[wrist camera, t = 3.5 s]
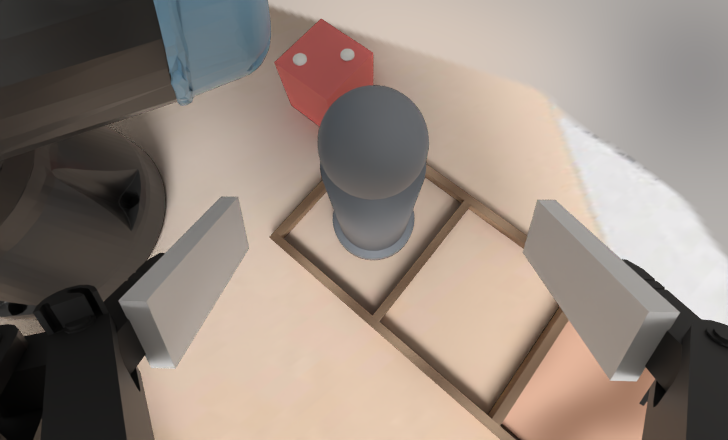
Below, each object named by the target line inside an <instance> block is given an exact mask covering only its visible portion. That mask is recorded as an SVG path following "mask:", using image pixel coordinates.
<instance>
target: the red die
mask: <svg viewBox="0 0 728 440" xmlns="http://www.w3.org/2000/svg"><path fill="white" fill-rule="evenodd" d="M274 63H275V65H276V68H277V70H278V73H279V75H280V78H281V81H282V83H283V86H284V88H285V91H286V93H287V96H288V98H289V101H290V103H291V105H292V106H293V107H294V108H296V109H297V110H298V111H300V112H301V113H302V114H304V115H305V116H306V117H308V118H309V119H310V120H312V121H313V122H314V123H316V124H317V125H318V126H320V125H321V122H322V119H323V117H324V115H325V113H326V112H327V110H328V109H329V107H330V106H331V105H332V104H333V103H334V102H335V101H336V100H337V99H338V98H339V97H340V96H342V95H343V94H345V93H347V92H348V91H350V90H353V89H355V88H358V87H362V86H368V85H373V52H371V51H370V50H368V49H367V48H365V47H364V46H362V45H360V44H359V43H357V42H356V41H354V40H353V39H351V38H350V37H348V36H347V35H345V34H344V33H342V32H341V31H339V30H338V29H336V28H335V27H333V26H332V25H330V24H329V23H327V22H326V21H324V20H323V19H320V20H319V21H318V22H317V23H316V24H315V25H314V26H313V27H312V28H310V29H309V30H308V31H307V32H306V33H305V34H304V35H303V36H302V37H301V38H300V39H299V40H298V41H297V42H296V43H294V44H293V45H292V46H291V47H290V48H289V49H288V50H287V51H286V52H285V53H284V54H283V55H282V56H281V57H280V58H278V59H277V60H276V61H275V62H274Z"/></svg>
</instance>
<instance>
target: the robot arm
mask: <svg viewBox="0 0 728 440" xmlns="http://www.w3.org/2000/svg"><path fill="white" fill-rule="evenodd" d="M270 38H271V23H270V13H269V6H268V0H0V318H3V319H14V320H16V319H37V320H38V321H39V323H40V324H41V326H42V327H43V329H44V330H45V332H43V333H38V334H34V335H29V336H23V335H22V333H21V332H20V331H19V329H18V328H17V327H16V326H15V325H9V324H6V325H0V440H154V435H153V430H152V426H151V421H150V416H149V411H148V406H147V402H146V397H145V392H144V387H143V383H142V378H141V373H140V371H139V369H138V367H137V365H138V364H139V362H140V361H141V360H142V358H143V357H144V356H146V358H147V360H148V362H149V364H150V366H151V368H176V367H177V365H178V363H179V362H180V360H181V359H182V357H183V355H184V354H185V352H186V350H187V349H188V347H189V346H190V344H191V342H192V341H193V339H194V337H195V336H196V334H197V332H198V331H199V329H200V328H201V326H202V324H203V323H204V321H205V319H206V318H207V316H208V315H209V313H210V311H211V310H212V308H213V306H214V305H215V303H216V301H217V300H218V298H219V297H220V295H221V293H222V292H223V290H224V288H225V287H226V285H227V284H228V282H229V280H230V279H231V277H232V275H233V274H234V272H235V270H236V269H237V267H238V266H239V264H240V262H241V261H242V259H243V257H244V256H245V254H246V253H247V251H248V249H249V245H248V241H247V236H246V231H245V227H244V222H243V217H242V212H241V208H240V203H239V198H238V197H220V198H219V199H218V200H217V202H216V203H215V204H214V205H213V206H212V207H211V208H210V209H209V210H208V211H207V212H206V213H205V214H204V215H203V216H202V217H201V218H200V219H199V220H198V221H197V222H196V223H195V224H194V225H193V226H192V227H191V228H190V229H189V230H188V231H187V232H186V233H185V234H184V235H183V236H182V237H181V238H180V239H179V240H178V241H177V242H176V243H175V244H174V245H173V246H172V247H171V248H170V249H169V250H168V251H167V252H166V253H159V254H157V255H156V256H154V257H152V258H150V259H149V260H147V258H148V257H149V255H150V253H151V252H152V250H153V248H154V246H155V244H156V242H157V239H158V237H159V234H160V231H161V228H162V224H163V220H164V214H165V191H164V186H163V182H162V178H161V176H160V173H159V171H158V169H157V167H156V165H155V164H154V162H153V161H152V159H151V158H150V157H149V156H148V155H147V154H146V153H145V152H144V151H143V150H142V149H141V148H140V147H138V146H137V145H135V144H134V143H133V142H131V141H130V140H128V139H127V138H125V137H124V136H123V135H121V134H120V133H118V132H116V131H115V130H113V129H111V128H109V127H107V126H105V125H108V124H111V123H114V122H117V121H120V120H123V119H126V118H129V117H132V116H135V115H138V114H141V113H144V112H147V111H150V110H153V109H156V108H159V107H162V106H165V105H168V104H171V103H174V102H178V103H179V104H180V105H181V106H185V105H188V104H189V103H191V102H192V101H193V97H194V96H196V95H199V94H201V93H204V92H206V91H209V90H211V89H214V88H216V87H219V86H222V85H224V84H227V83H229V82H232V81H234V80H237V79H240V78H242V77H245V76H247V75H249V74H251V73H252V72H253V71H255V70H256V69H257V68H258V67H259V66H260V65H261V64H262V62H263V61H264V59H265V57H266V54H267V52H268V50H269V45H270ZM523 254H524V255H525V257H526V258H527V259H528V261H529V262H530V264H531V265H532V267H533V268H534V270H535V271H536V273H537V274H538V276H539V277H540V279H541V280H542V281H543V283H544V284H545V286H546V287H547V289H548V290H549V292H550V293H551V295H552V296H553V298H554V299H555V301H556V302H557V303H558V305H559V306H560V308H561V309H562V311H563V312H564V314H565V315H566V317H567V318H568V320H569V321H570V322H571V324H572V325H573V327H574V328H575V330H576V331H577V333H578V334H579V336H580V337H581V339H582V340H583V342H584V343H585V344H586V346H587V347H588V349H589V350H590V352H591V353H592V355H593V356H594V358H595V359H596V361H597V362H598V364H599V365H600V366H601V368H602V369H603V371H604V372H605V374H606V375H607V377H608V378H609V380H610V381H637V380H638V379H639V377H640V376H641V374H642V372H643V371H644V369H645V368H647V369H648V371H649V372H650V373H651V374H652V375H653V377H654V378H655V380H654V382H653V383H652V385H651V386H650V388H649V389H648V391H647V392H646V394H645V395H644V397H643V398H642V400H641V401H640V403H639V404H641V405H643V406H644V405H645V404H646V402H647V409H646V415H645V422H644V428H643V435H642V440H728V326H727V325H725V324H722V323H719V322H715V321H712V320H701V319H700V318H699V317H698V316H697V315H696V314H694V313H693V312H692V311H691V310H690V309H689V308H687V307H686V306H685V305H684V304H683V303H682V302H680V301H679V300H678V299H677V298H676V297H675V296H674V295H672V294H671V293H670V292H669V291H668V290H665V289H664V287H663V286H662V285H661V284H660V283H659V282H657V281H655V279H654V278H653V277H652V276H650V275H649V274H648V273H647V272H646V271H645V270H643V269H642V268H640V267H639V266H637V265H635V264H633V263H631V262H630V261H628V260H621V259H620V258H619V257H618V256H617V255H616V254H615V253H614V252H613V251H611V250H610V249H609V248H608V247H607V246H606V245H605V244H604V243H603V242H601V241H600V240H599V239H598V238H597V237H596V236H595V235H594V234H593V233H591V232H590V231H589V230H588V229H587V228H586V227H585V226H584V225H583V224H581V223H580V222H579V221H578V220H577V219H576V218H575V217H574V216H573V215H572V214H570V213H569V212H568V211H567V210H566V209H565V208H564V207H563V206H562V205H560V204H559V203H558V202H557V201H556V200H537V203H536V206H535V210H534V214H533V217H532V221H531V224H530V228H529V232H528V235H527V239H526V242H525V246H524V250H523ZM146 260H147V261H146ZM103 301H104V302H103Z"/></svg>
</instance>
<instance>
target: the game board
mask: <svg viewBox="0 0 728 440" xmlns="http://www.w3.org/2000/svg"><path fill="white" fill-rule="evenodd" d="M425 177H426V178H427V179H428V180H430V181H431V182H433V183H434V184H435V185H437V186H438V187H439V188H441V189H442V190H444V191H445V192H446V193H448V194H449V195H450V196H452V197H453V198H455V199H456V200H457V201H459V202H460V203H462V204H461V205H460V206H459V208H458V209H457V210H456V211H455V213H454V214H453V215H452V216H451V218H450V219H449V220H448V222H447V223H446V224H445V225H444V227H443V228H442V229H441V230H440V232H439V233H438V234H437V235H436V237H435V238H434V239H433V240H432V242H431V243H430V244H429V245H428V247H427V248H426V249H425V250H424V252H423V253H422V254H421V255H420V257H419V258H418V259H417V260H416V262H415V263H414V264H413V266H412V267H411V268H410V269H409V271H408V272H407V273H406V274H405V276H404V277H403V278H402V279H401V281H400V282H399V283H398V284H397V286H396V287H395V288H394V289H393V291H392V292H391V293H390V294H389V296H388V297H387V298H386V299H385V301H384V302H383V303H382V304H381V306H380V307H379V308H378V310H377V311H376V312H375V313H374V315H373V316H372V315H371V314H370V313H369V312H368V311H367V310H366V309H364V308H363V307H362V306H361V305H360V304H359V303H357V302H356V301H355V300H354V299H353V298H352V297H351V296H349V295H348V294H347V293H346V292H345V291H344V290H342V289H341V288H340V287H339V286H338V285H337V284H336V283H334V282H333V281H332V280H331V279H330V278H329V277H327V276H326V275H325V274H324V273H323V272H322V271H321V270H319V269H318V268H317V267H316V266H315V265H314V264H312V263H311V262H310V261H309V260H308V259H307V258H306V257H304V256H303V255H302V254H301V253H300V252H299V251H297V250H296V249H295V248H294V247H293V246H292V245H290V244H289V243H288V242H287V241H286V240H285V239H284V238H285V236H286V235H287V234H288V233H289V232H290V231H291V230H292V229H293V228H294V227H295V225H296V224H297V223H298V222H299V221H300V220H301V219H302V218H303V217H304V216H305V215H306V213H307V212H308V211H309V210H310V209H311V208H312V207H313V206H314V205H315V204H316V202H317V201H318V200H319V199H320V198H321V197H322V196H323V195H324V194H325V193H326V192H327V191H326V188H325V185H324V183H323V180H322V181H321V182H320V183H319V184H318V185H317V186H316V187H315V188H314V189H313V190H312V192H311V193H310V194H309V195H308V196H307V197H306V198H305V199H304V200H303V201H302V202H301V203H300V205H299V206H298V207H297V208H296V209H295V210H294V211H293V212H292V213H291V214H290V215H289V216H288V217H287V219H286V220H285V221H284V222H283V223H282V224H281V225H280V226H279V227H278V228H277V229H276V230H275V232H274V233H273V234H272V235H271V236H270V238H271V239H272V240H273V241H274V242H275V243H276V244H278V245H279V246H280V247H281V248H282V249H283V250H284V251H286V252H287V253H288V254H289V255H290V256H291V257H292V258H294V259H295V260H296V261H297V262H298V263H299V264H300V265H302V266H303V267H304V268H305V269H306V270H307V271H308V272H310V273H311V274H312V275H313V276H314V277H315V278H316V279H318V280H319V281H320V282H321V283H322V284H323V285H324V286H326V287H327V288H328V289H329V290H330V291H331V292H332V293H334V294H335V295H336V296H337V297H338V298H339V299H340V300H342V301H343V302H344V303H345V304H346V305H347V306H348V307H350V308H351V309H352V310H353V311H354V312H355V313H356V314H358V315H359V316H360V317H361V318H362V319H363V320H364V321H366V322H367V323H368V324H369V325H370V326H371V327H372V328H374V329H375V330H376V331H377V332H378V333H379V334H380V335H382V336H383V337H384V338H385V339H386V340H387V341H388V342H390V343H391V344H392V345H393V346H394V347H395V348H396V349H398V350H399V351H400V352H401V353H402V354H403V355H404V356H406V357H407V358H408V359H409V360H410V361H411V362H412V363H414V364H415V365H416V366H417V367H418V368H419V369H420V370H422V371H423V372H424V373H425V374H426V375H427V376H428V377H430V378H431V379H432V380H433V381H434V382H435V383H436V384H438V385H439V386H440V387H441V388H442V389H443V390H444V391H446V392H447V393H448V394H449V395H450V396H451V397H452V398H453V399H455V400H456V401H457V402H458V403H459V404H460V405H461V406H463V407H464V408H465V409H466V410H467V411H468V412H469V413H471V414H472V415H473V416H474V417H475V418H476V419H477V420H479V421H480V422H481V423H482V424H483V425H484V426H485V427H487V428H488V429H489V430H490V431H491V432H492V433H493V434H495V435H496V436H497V437H498V438H499V439H500V440H516V439H515V438H513V437H512V436H511V435H510V434H509V433H508V432H506V431H505V430H504V429H503V428H502V427H501V426H500V425H501V424H503V425H504V426H506V427H507V428H508V429H509V430H510V431H511V432H512V433H514V434H515V435H516V436H517V437H518V438H519V439H521V440H642V435H643V428H644V422H645V415H646V409H647V402H646V404H645V405H644V406H643V405H641V404H639V403H640V401H641V400H642V398H643V397H644V395H645V394H646V392H647V391H648V389H649V388H650V386H651V385H652V383H653V382H654V380H655V378H654V377H653V375H652V374H651V373H650V372H649V371H648V369H647V368H645V369H644V371H643V372H642V374H641V376H640V377H639V379H638V380H637V381H610V380H609V378H608V377H607V375H606V374H605V372H604V371H603V369H602V368H601V366H600V365H599V364H598V362H597V361H596V359H595V358H594V356H593V355H592V353H591V352H590V350H589V349H588V347H587V346H586V344H585V343H584V342H583V340H582V339H581V337H580V336H579V334H578V333H577V331H576V330H575V328H574V327H573V325H572V324H571V322H570V321H569V320H568V318H567V317H566V315H565V314H564V312H563V311H562V309H561V308H560V307H559V308H558V310H557V311H556V313H555V314H554V316H553V317H552V319H551V320H550V322H549V323H548V325H547V326H546V328H545V329H544V331H543V332H542V334H541V335H540V337H539V338H538V340H537V341H536V343H535V344H534V346H533V347H532V349H531V350H530V352H529V353H528V355H527V356H526V358H525V359H524V361H523V362H522V364H521V365H520V367H519V368H518V370H517V372H516V373H515V375H514V376H513V378H512V379H511V381H510V382H509V384H508V385H507V387H506V388H505V390H504V391H503V393H502V394H501V396H500V397H499V399H498V400H497V402H496V403H495V405H494V406H493V408H492V409H491V411H490V412H489V414H488V415H487V414H486V413H485V412H483V411H482V410H481V409H480V408H479V407H478V406H476V405H475V404H474V403H473V402H472V401H471V400H470V399H468V398H467V397H466V396H465V395H464V394H463V393H461V392H460V391H459V390H458V389H457V388H456V387H454V386H453V385H452V384H451V383H450V382H449V381H448V380H446V379H445V378H444V377H443V376H442V375H441V374H439V373H438V372H437V371H436V370H435V369H434V368H433V367H431V366H430V365H429V364H428V363H427V362H426V361H424V360H423V359H422V358H421V357H420V356H419V355H418V354H416V353H415V352H414V351H413V350H412V349H411V348H409V347H408V346H407V345H406V344H405V343H404V342H403V341H401V340H400V339H399V338H398V337H397V336H396V335H394V334H393V333H392V332H391V331H390V330H389V329H388V328H386V327H385V326H384V325H383V324H382V323H381V322H379V321H380V320H381V319H382V318H383V316H384V315H385V314H386V313H387V311H388V310H389V309H390V308H391V306H392V305H393V304H394V302H395V301H396V300H397V299H398V297H399V296H400V295H401V294H402V292H403V291H404V290H405V288H406V287H407V286H408V285H409V283H410V282H411V281H412V280H413V278H414V277H415V276H416V274H417V273H418V272H419V271H420V269H421V268H422V267H423V266H424V264H425V263H426V262H427V261H428V259H429V258H430V257H431V255H432V254H433V253H434V252H435V250H436V249H437V248H438V247H439V245H440V244H441V243H442V241H443V240H444V239H445V238H446V236H447V235H448V234H449V233H450V231H451V230H452V229H453V227H454V226H455V225H456V224H457V222H458V221H459V220H460V219H461V217H462V216H463V215H464V214H465V212H466V211H467V210H468V209H470V210H471V211H473V212H474V213H475V214H477V215H478V216H479V217H481V218H482V219H484V220H485V221H486V222H488V223H489V224H490V225H492V226H493V227H495V228H496V229H497V230H499V231H500V232H501V233H503V234H504V235H506V236H507V237H508V238H510V239H511V240H512V241H514V242H515V243H517V244H518V245H519V246H521V247H522V248H523V249H524V246H525V242H526V239H527V235H525V234H524V233H522V232H521V231H520V230H518V229H517V228H515V227H514V226H513V225H511V224H510V223H508V222H507V221H506V220H504V219H503V218H501V217H500V216H499V215H497V214H496V213H494V212H493V211H492V210H490V209H489V208H487V207H486V206H485V205H483V204H482V203H480V202H479V201H478V200H476V199H475V198H474V197H472V196H471V195H469V194H468V193H467V192H465V191H464V190H462V189H461V188H460V187H458V186H457V185H455V184H454V183H453V182H451V181H450V180H448V179H447V178H446V177H444V176H443V175H441V174H440V173H439V172H437V171H436V170H434V169H433V168H432V167H430V166H429V165H427V164H426V174H425Z"/></svg>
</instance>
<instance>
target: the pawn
mask: <svg viewBox="0 0 728 440" xmlns="http://www.w3.org/2000/svg"><path fill="white" fill-rule="evenodd" d="M428 149H429V137H428V130H427V126H426V123H425V120H424V118H423V116H422V114H421V112H420V110H419V109H418V108H417V106H416V105H415V104H414V103H413V102H412V101H411V100H410V99H409V98H408V97H407V96H405V95H404V94H402V93H400V92H399V91H397V90H394V89H392V88H389V87H385V86H378V85H368V86H362V87H358V88H355V89H353V90H350V91H348V92H347V93H345V94H343V95H342V96H340V97H339V98H338V99H337V100H336V101H335V102H334V103H333V104H332V105H331V106H330V107H329V109H328V110H327V112H326V113H325V115H324V117H323V119H322V122H321V125H320V128H319V132H318V154H319V158H320V161H321V162H320V170H321V176H322V180H323V183H324V185H325V188H326V191H327V193H328V196H329V198H330V201H331V204H332V206H333V209H334V212H333V226H334V230H335V233H336V235H337V237H338V239H339V241H340V243H341V244H342V245H343V247H344V248H345V249H346V250H347V251H349V252H350V253H351V254H353V255H355V256H357V257H359V258H362V259H367V260H380V259H385V258H388V257H390V256H392V255H394V254H396V253H397V252H398V251H400V250H401V249H402V248H403V247H404V246H405V244H406V243H407V241H408V239H409V237H410V235H411V233H412V230H413V226H414V211H413V208H414V205H415V202H416V200H417V197H418V194H419V192H420V189H421V186H422V184H423V181H424V178H425V174H426V159H427V154H428Z"/></svg>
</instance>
